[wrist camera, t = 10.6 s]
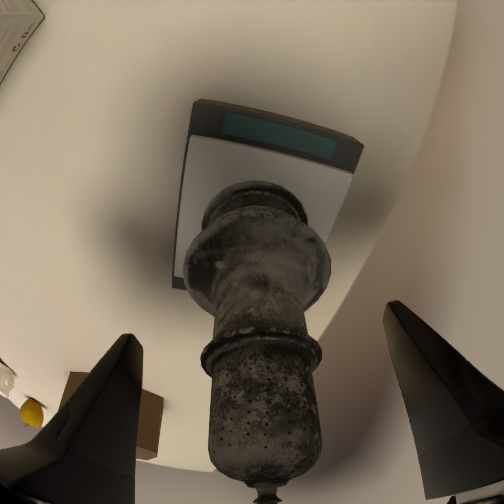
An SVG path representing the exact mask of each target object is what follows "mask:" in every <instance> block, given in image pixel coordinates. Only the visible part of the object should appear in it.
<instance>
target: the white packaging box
mask: <svg viewBox="0 0 504 504" xmlns="http://www.w3.org/2000/svg"><path fill="white" fill-rule="evenodd" d="M43 18H44V16H43V14H42V13H41V12H40V11H39V10H38V8H37V7H36V6H35V5H34V3H33V2H32V1H31V0H0V83H1V81H2V79H3V77H4V76H5V74H6V72H7V70H8V69H9V67H10V66H11V64H12V62H13V61H14V59H15V57H16V56H17V54H18V53H19V51H20V50H21V48H22V47H23V45H24V44H25V42H26V41H27V40H28V38H29V37H30V35H31V34H32V33H33V31H34V30H35V29H36V27H37V26H38V25H39V23H40V22H41V21H42V19H43Z"/></svg>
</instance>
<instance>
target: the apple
mask: <svg viewBox="0 0 504 504" xmlns="http://www.w3.org/2000/svg"><path fill="white" fill-rule="evenodd" d="M20 416H21V419H22V421H23V422H24V423H25V424H27V425H30V426H32V427H34V428H40V427H41V426H42V423H43V411H42V408H41V405H40V403H38V402H36V401H34V400H32V399H29V400H26V402H25V403H24V404H23V405H22V406H21V409H20ZM25 426H26V425H25Z"/></svg>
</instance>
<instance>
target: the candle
mask: <svg viewBox="0 0 504 504" xmlns="http://www.w3.org/2000/svg"><path fill="white" fill-rule="evenodd" d="M88 374H89V373H79V372H70V375H69V378H68V381H67V384H66V387H65V390H64V393H63V396H62V399H61V403H60V406H59V409H58V411H59V410H60V408H61V407H62V406H63V405H64V403H65V402H66V401H67V400H68V399H69V397H70V396H71V395H72V394H73V392H74V391H75V390H76V389H77V387H78V386H79V385H80V384H81V382H82V381H83V380H84V379H85V377H86V376H87V375H88ZM162 414H163V398H162V397H160V396H157V395H155V394H152V393H150V392H148V391H145V390H143V389H142V394H141V402H140V411H139V422H138V433H137V447H136V458H137V459H143V460H149V459H152V458H155V457H157V452H158V444H159V436H160V428H161V421H162Z"/></svg>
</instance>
